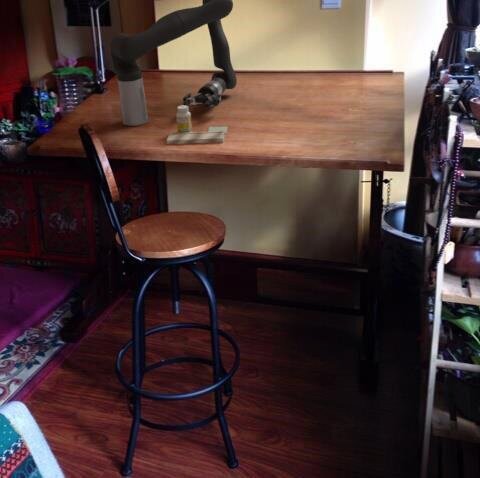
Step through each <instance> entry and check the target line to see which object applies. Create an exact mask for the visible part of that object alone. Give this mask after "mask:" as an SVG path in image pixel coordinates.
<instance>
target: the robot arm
mask: <svg viewBox="0 0 480 478" xmlns="http://www.w3.org/2000/svg"><path fill="white" fill-rule="evenodd" d="M201 3H202V4H201V5H199V6H195V7H188V8H182V9H177V10H175V11H171V12H169V13H167V14H165V15H164V16H161V17H160V18H159V19H158V20H156V21H155V22H154V24H152V25H151V27H148V29H146V30H144V31H141V32H139V33H136V34H132V35H131V34H127V33H124V32H123V33H122V32H121V33H116V34H115V35H114V36H113V37H112V38H111V41H110V45H109V46H110V47H109V48H110V49H109V50H110V51H109V52H110V56H111V62H112V66H113V70H114V72H115V74H116V77H117V83H118V89H119V96H120V99H119V106H120V112H121V119H122V123H123V125H124V126H129V127H130V126H135V127H136V126H141V125H144V124H146V123H148V122H149V115H148V109H147V102H146V96H145V88H144V80H143V74H142V73H143V72H142V70H141V68H140V67H139V65H138V63H137V60H138V59H140V58H141V57H143V56H145V55H146V54H148V53H149V52H151V51H153V50H154V49H157V48H159V47H161V46H163V45H166V44H168V43H170V42H172V41H174V40H175V41H176V40H177V39H179V38H181V37H183V36H185V35H187V34H188V33H189V34H190V33H191V32H193V31H195V30H197V29H199V28H201V27H203V26H205V25H207V29H208V33H209V37H210V43H211V48H212V50H211V51H212V58H213V65H214V67H215V68H216V69H220V70H222V71H215V72H213V73H212V75H211V78H210V81H208V82H206V83H205V84H204V85H202V87H200V88H199V89H198V91H197V94H193V95H192V93H188V94H186V95H185V96H183V97H182V102H183V105H186V106H188V107H189V106H191V105H194V106H195V105H198V104H200V105H202V104H203V105H204V109H205V110H208V109H209V108H210V107H213V106H214V107H217V106H218V105H220V103H221V102H222V95H223V94H224V93H225V91H226V90H233V89H235V88H236V86H237V81H238V80H237V79H238V78H237V74H236V73H235V70H234V68H233V64H232V59H231V50H230V44H229V42H228V39H227V36H226V34H225V32H224V29H223V26H222V21H221V20H222V19H224V18H226V17H228V16H229V15H230V14H231V13H232V11H233V8H234V3H233V0H202V2H201Z"/></svg>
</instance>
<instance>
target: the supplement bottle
mask: <svg viewBox="0 0 480 478" xmlns="http://www.w3.org/2000/svg"><path fill="white" fill-rule="evenodd" d="M176 108H177V109H176V110H177V112H176V114H175V115H176V117H175V118H176V123H177V124H176V126H177V133H186V132H193V125H192V113H191V112H190V111H189V106H186V105H184V104H183V105H178V106H177V107H176Z"/></svg>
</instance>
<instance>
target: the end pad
mask: <svg viewBox="0 0 480 478" xmlns="http://www.w3.org/2000/svg"><path fill="white" fill-rule="evenodd" d="M228 129H229V128H228V125H227V126H209V127H208V129H207V132H213V131H224V132H225V135H227V132H228Z"/></svg>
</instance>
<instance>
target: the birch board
mask: <svg viewBox="0 0 480 478" xmlns="http://www.w3.org/2000/svg"><path fill="white" fill-rule="evenodd" d="M225 135H226V134H225V132H224V131H213V132H208V131H192V132H186V133H178V132H169V134H168V136H167V138H166V145H178V144H179V145H182V144H183V145H185V144H208V143H209V144H210V143H212V144H213V143H214V144H216V143H224V141H225V137H226V136H225Z"/></svg>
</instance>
